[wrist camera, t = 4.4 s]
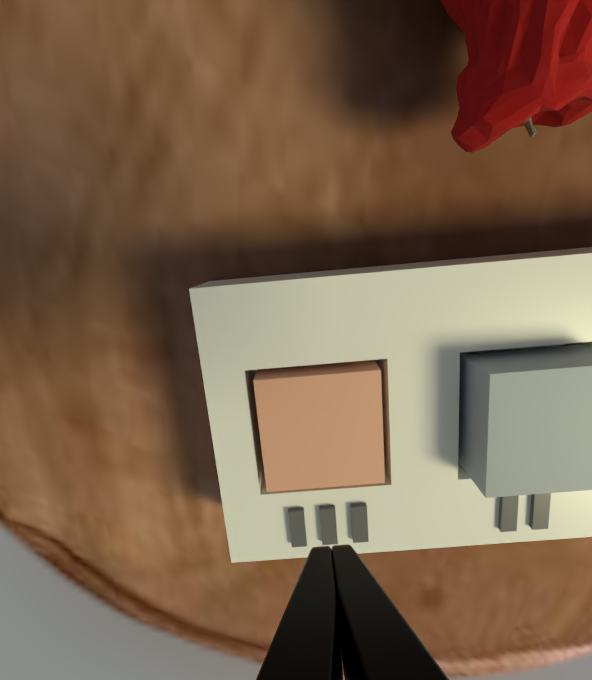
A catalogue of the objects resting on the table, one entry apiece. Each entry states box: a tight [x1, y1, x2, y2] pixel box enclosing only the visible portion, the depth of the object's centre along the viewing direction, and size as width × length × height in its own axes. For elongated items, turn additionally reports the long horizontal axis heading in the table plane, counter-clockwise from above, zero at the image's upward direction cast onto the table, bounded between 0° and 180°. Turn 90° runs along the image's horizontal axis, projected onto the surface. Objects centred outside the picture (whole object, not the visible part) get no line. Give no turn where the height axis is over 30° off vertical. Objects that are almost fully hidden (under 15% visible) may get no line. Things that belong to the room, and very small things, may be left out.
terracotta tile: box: [253, 360, 385, 492], centre depth 14 cm, size 4×4×2 cm
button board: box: [189, 247, 592, 563], centre depth 15 cm, size 23×11×3 cm, turn 95°
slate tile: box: [458, 344, 592, 498], centre depth 13 cm, size 4×4×2 cm
